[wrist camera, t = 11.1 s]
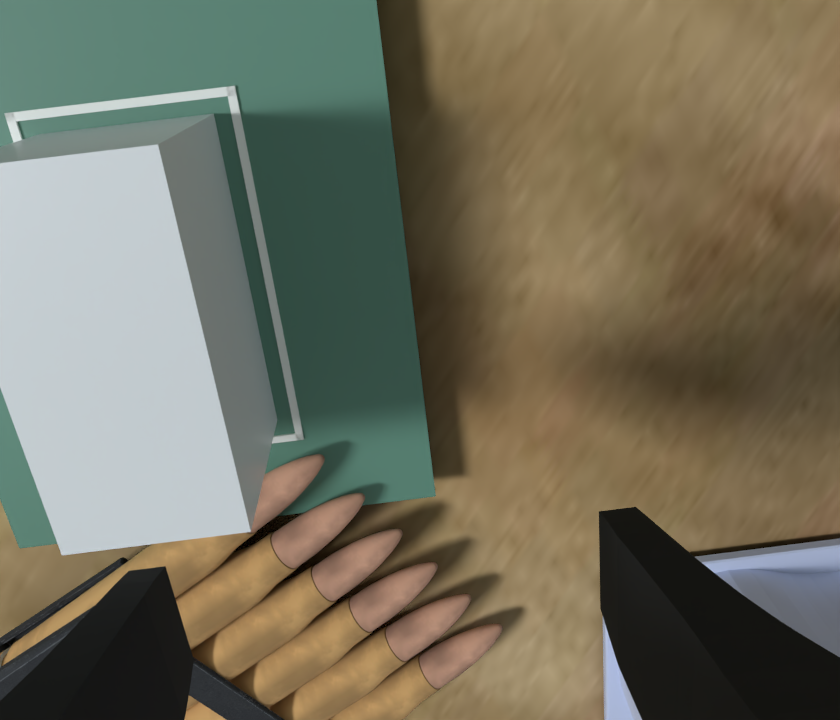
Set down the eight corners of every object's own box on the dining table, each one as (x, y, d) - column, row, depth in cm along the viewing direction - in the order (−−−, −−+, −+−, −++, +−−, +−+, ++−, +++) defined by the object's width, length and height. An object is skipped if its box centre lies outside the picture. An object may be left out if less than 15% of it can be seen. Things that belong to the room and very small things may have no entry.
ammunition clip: (-30, 692, 21) (300, 454, 19) (-7, 640, 23) (299, 415, 21) (237, 841, 26) (525, 664, 24) (240, 789, 28) (510, 619, 26)
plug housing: (214, 113, 17) (158, 144, 13) (277, 420, 21) (250, 531, 16) (39, 133, 17) (-79, 172, 13) (130, 438, 21) (61, 555, 16)
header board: (369, -48, 17) (369, -71, 13) (433, 477, 23) (446, 576, 19) (-162, 15, 17) (-331, 11, 13) (34, 527, 23) (-41, 638, 19)
